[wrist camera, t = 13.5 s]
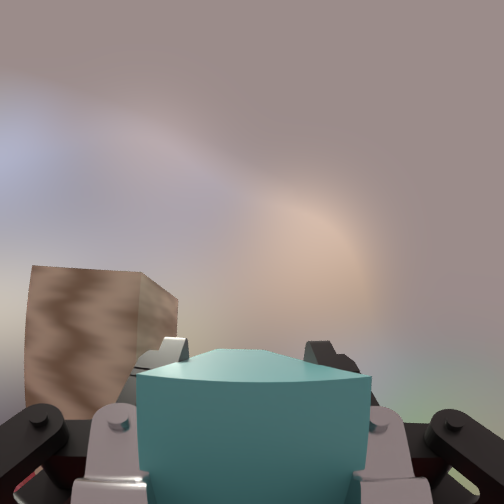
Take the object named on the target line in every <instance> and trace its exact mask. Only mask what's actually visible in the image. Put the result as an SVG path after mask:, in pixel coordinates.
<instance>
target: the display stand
mask: <svg viewBox="0 0 504 504" xmlns="http://www.w3.org/2000/svg"><path fill="white" fill-rule="evenodd" d="M177 314H178V299H177V298H175V297H174V296H173V295H171V294H170V293H169V292H167V291H166V290H164V289H163V288H162V287H160V286H159V285H158V284H156V283H155V282H154V281H152V280H151V279H150V278H148V277H147V276H146V275H145V274H143V273H142V272H130V271H129V272H128V271H111V270H110V271H109V270H94V269H78V268H63V267H48V266H35V265H33V266H32V271H31V278H30V285H29V293H28V302H27V313H26V327H25V348H24V378H25V401H26V408H27V407H28V406H31V405H34V404H38V403H46V404H51V405H54V406H55V407H57V408H58V409H59V410H60V411H61V412H62V414H63V417H64V419H65V420H88V419H92V418H93V416H94V414H95V413H96V412H97V411H98V410H99V409H100V408H102V407H104V406H106V405H109V404H113V403H116V401H117V399H118V397H119V395H120V393H121V391H122V389H123V387H124V385H125V383H126V381H127V379H128V377H129V376H130V373H131V372H132V370H133V368H134V366H135V364H136V362H137V360H138V358H139V357H140V356H141V355H143V354H144V353H145V352H147V351H148V350H158V351H159V348H160V346H161V344H162V342H163V340H164V338H165V337H175V338H177V337H176V336H177ZM42 469H43V468H42V467H41V466H39V467H38V468H37V469H36V470H35V475H36V474H38V473H39V472H40V471H41V470H42Z"/></svg>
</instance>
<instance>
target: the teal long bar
mask: <svg viewBox="0 0 504 504" xmlns="http://www.w3.org/2000/svg"><path fill="white" fill-rule="evenodd" d="M371 382H372V376H368V375H363V374H358V373H353V372H349V371H344V370H340V369H336V368H331V367H327V366H323V365H316V364H312V363H308V362H305V361H303V360H299V359H295V358H291V357H288V356H284V355H280V354H276V353H273V352H269V351H266V350H242V349H216V350H212V351H209V352H207V353H203V354H200V355H197V356H194V357H191V358H189V359H187V360H184V361H181V362H178V363H177V362H175V363H172V364H169V365H165V366H162V367H159V368H155V369H152V370H148V371H145V372H141V373H138V374H136V411H137V439H138V456H139V469H140V470H143V471H148V472H149V474H150V478H151V482H152V486H153V490H154V494H155V498H156V501H157V504H344V501H345V498H346V495H347V491H348V488H349V484H350V481H351V477H352V474H353V471H357V470H363V469H365V463H366V454H367V445H368V434H369V421H370V405H371Z"/></svg>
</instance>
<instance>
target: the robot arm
mask: <svg viewBox="0 0 504 504" xmlns="http://www.w3.org/2000/svg"><path fill="white" fill-rule="evenodd" d="M187 359H189V351H188V340H187V338H175V337H165V338H164V340H163V342H162V344H161V346H160V348H159V351H158V350H148V351H147V352H145V353H144V354H143V355H141V356H140V357H139V358H138V360H137V362H136V364H135V366H134V368H133V370H132V372H131V373H130V376H129V377H128V379H127V381H126V383H125V385H124V387H123V389H122V391H121V393H120V395H119V397H118V399H117V401H116V403H113V404H109V405H106V406H104V407H102V408H100V409H99V410H98V411H97V412H96V413H95V414H94V416H93V418H92V419H88V420H65V419H64V417H63V414H62V412H61V411H60V410H59V409H58V408H57V407H55V406H54V405H51V404H46V403H38V404H34V405H31V406H28V407H27V408H25V409H24V410H22V411H21V412H19V413H18V414H16V415H15V416H14V417H12V418H11V419H9V420H8V421H6V422H5V423H4V424H2V425H1V426H0V504H157V501H156V498H155V494H154V490H153V486H152V482H151V478H150V474H149V472H148V471H143V470H140V469H139V456H138V439H137V411H136V374H138V373H141V372H145V371H148V370H152V369H155V368H159V367H162V366H165V365H169V364H172V363H175V362H177V363H178V362H181V361H184V360H187ZM304 361H305V362H308V363H312V364H316V365H323V366H327V367H331V368H336V369H340V370H344V371H349V372H353V373H358V374H361V373H360V371H359V369H358V367H357V365H356V364H355V362H354V361H353V360H351V359H350V358H349V357H347V356H346V355H345V354H336V352H335V350H334V348H333V346H332V344H331V343H330V341H308V342H307V343H306V347H305V354H304ZM39 466H41V467H42V468H43V469H42V470H41V471H40V472H39V473H38V474H36V475H35V476H34V477H33V478H32V479H31V480H29V481H28V482H27V483H26V484H25V485H24V486H22V487H21V488H20V489H19V490H18V491H16V492H15V493H13V492H14V489H15V487H16V486H17V485H18V484H19V483H21V482H22V481H23V480H24V479H25V478H26V477H28V476H29V475H30V474H31V473H32V472H34V471H35V470H36V469H37V468H38V467H39ZM452 467H453V468H455V469H456V470H457V471H458V472H460V473H461V474H462V475H463V476H464V477H466V478H467V479H468V480H469V481H471V482H472V483H473V484H474V485H476V486H477V487H478V489H479V491H480V495H479V496H477V495H474V494H472V493H471V492H470V491H468V490H467V489H465V487H463V486H462V485H461V484H460V483H458V482H457V481H456V480H455V479H454V478H453V477H451V476H450V475H449V474H448V472H449V470H450V469H451V468H452ZM344 504H504V440H503V439H501V438H500V437H498V436H497V435H495V434H494V433H492V432H491V431H490V430H488V429H486V428H485V427H484V426H482V425H481V424H480V423H478V422H477V421H475V420H474V419H472V418H471V417H470V416H468V415H467V414H465V413H463V412H461V411H458V410H454V409H444V410H441V411H438V412H437V413H436V414H434V416H433V418H432V419H431V422H430V423H429V424H424V423H422V424H421V423H404V422H403V420H402V419H401V417H400V416H399V415H398V414H397V413H396V412H395V411H393V410H391V409H389V408H386V407H381V406H379V404H378V402H377V400H376V398H375V397H374V395H373V393H372V392H371V405H370V421H369V434H368V445H367V454H366V463H365V469H363V470H357V471H353V474H352V477H351V481H350V484H349V488H348V491H347V495H346V498H345V501H344Z"/></svg>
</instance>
